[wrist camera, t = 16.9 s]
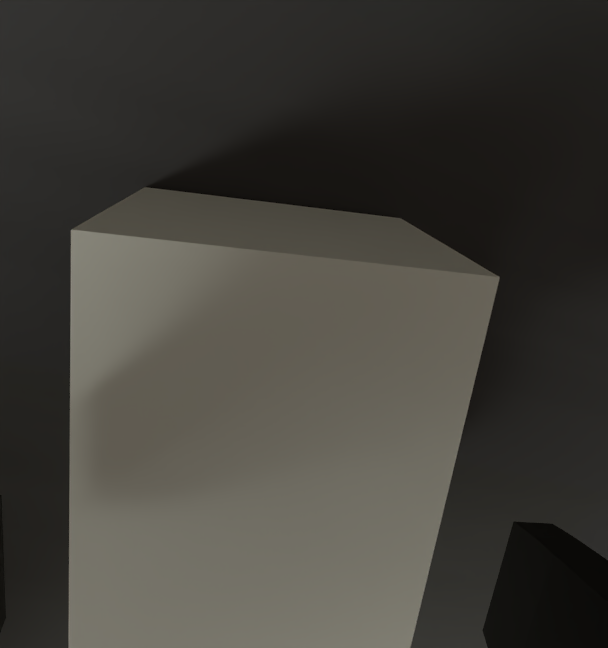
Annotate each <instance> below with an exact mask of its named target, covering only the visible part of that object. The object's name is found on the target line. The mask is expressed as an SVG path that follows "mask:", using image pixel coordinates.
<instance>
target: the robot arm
mask: <svg viewBox="0 0 608 648" xmlns="http://www.w3.org/2000/svg"><path fill="white" fill-rule="evenodd" d="M5 618H6V613H5V584H4V555H3V526H2V497H1V495H0V632H1V629H2V627H3V624H4V621H5ZM483 633H484V636H485V640H486V643H487V646H488V648H608V560H606V559H605V558H603V557H602V556H600V555H599V554H598V553H596V552H595V551H593V550H592V549H590V548H589V547H588V546H586V545H585V544H583V543H582V542H580V541H579V540H577V539H576V538H574V537H573V536H571V535H570V534H568V533H566V532H565V531H563V530H562V529H560V528H558V527H557V526H555V525H553V524H546V523H527V522H514V523H513V526H512V530H511V533H510V537H509V540H508V544H507V547H506V551H505V554H504V558H503V561H502V565H501V568H500V572H499V575H498V579H497V582H496V586H495V589H494V593H493V596H492V600H491V603H490V607H489V610H488V614H487V617H486V621H485V624H484V628H483Z"/></svg>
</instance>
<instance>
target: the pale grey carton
mask: <svg viewBox="0 0 608 648" xmlns="http://www.w3.org/2000/svg"><path fill="white" fill-rule="evenodd" d="M499 278H500V277H499V276H497V275H495V274H494V273H492V272H490V271H489V270H487V269H485V268H483V267H482V266H480V265H478V264H477V263H475V262H473V261H472V260H470V259H468V258H467V257H465V256H463V255H462V254H460V253H458V252H457V251H455V250H453V249H452V248H450V247H448V246H446V245H445V244H443V243H441V242H440V241H438V240H436V239H435V238H433V237H431V236H430V235H428V234H426V233H425V232H423V231H421V230H420V229H418V228H416V227H415V226H413V225H411V224H409V223H408V222H406V221H404V220H403V219H401V218H394V217H386V216H378V215H370V214H362V213H353V212H345V211H337V210H329V209H321V208H312V207H304V206H296V205H288V204H280V203H271V202H263V201H255V200H247V199H239V198H230V197H222V196H214V195H206V194H198V193H189V192H181V191H173V190H165V189H156V188H148V187H145V188H143V189H141V190H139V191H138V192H136V193H134V194H132V195H131V196H129V197H127V198H125V199H124V200H122V201H120V202H118V203H117V204H115V205H113V206H111V207H110V208H108V209H106V210H104V211H103V212H101V213H99V214H97V215H96V216H94V217H92V218H90V219H89V220H87V221H85V222H84V223H82V224H80V225H78V226H77V227H75V228H73V229H71V326H70V490H69V648H410V647H411V643H412V639H413V635H414V630H415V626H416V622H417V618H418V614H419V610H420V606H421V601H422V597H423V593H424V589H425V585H426V581H427V577H428V572H429V568H430V564H431V560H432V556H433V552H434V548H435V543H436V539H437V535H438V531H439V527H440V523H441V519H442V514H443V510H444V506H445V502H446V498H447V494H448V490H449V485H450V481H451V477H452V473H453V469H454V465H455V461H456V457H457V452H458V448H459V444H460V440H461V436H462V432H463V428H464V423H465V419H466V415H467V411H468V407H469V403H470V399H471V394H472V390H473V386H474V382H475V378H476V374H477V370H478V365H479V361H480V357H481V353H482V349H483V345H484V341H485V336H486V332H487V328H488V324H489V320H490V316H491V312H492V307H493V303H494V299H495V295H496V291H497V287H498V283H499Z"/></svg>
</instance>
